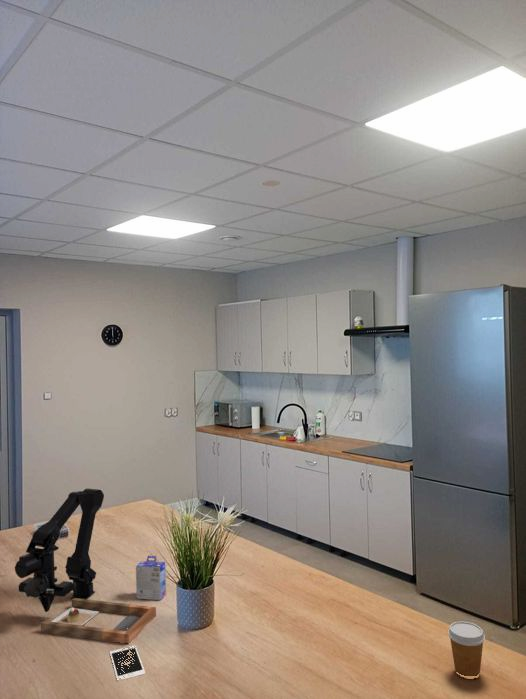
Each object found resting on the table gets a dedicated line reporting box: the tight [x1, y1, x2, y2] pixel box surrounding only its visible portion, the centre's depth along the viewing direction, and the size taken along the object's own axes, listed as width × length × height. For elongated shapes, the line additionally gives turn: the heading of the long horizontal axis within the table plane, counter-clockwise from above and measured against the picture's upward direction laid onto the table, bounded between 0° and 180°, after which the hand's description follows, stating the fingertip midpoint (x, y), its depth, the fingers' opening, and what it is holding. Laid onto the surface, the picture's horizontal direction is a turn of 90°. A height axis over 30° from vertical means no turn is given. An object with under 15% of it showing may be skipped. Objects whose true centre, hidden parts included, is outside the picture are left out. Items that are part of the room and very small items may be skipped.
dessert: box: [50, 606, 100, 626], centre depth 185 cm, size 12×12×5 cm
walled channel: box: [40, 598, 157, 645], centre depth 181 cm, size 32×18×3 cm, turn 74°
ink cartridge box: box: [135, 555, 167, 601], centre depth 200 cm, size 10×6×14 cm, turn 78°
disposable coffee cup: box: [447, 621, 486, 676], centre depth 148 cm, size 10×10×12 cm
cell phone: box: [109, 645, 146, 681], centre depth 158 cm, size 8×16×1 cm, turn 23°
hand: (47, 611), depth 187 cm, fingers closed
